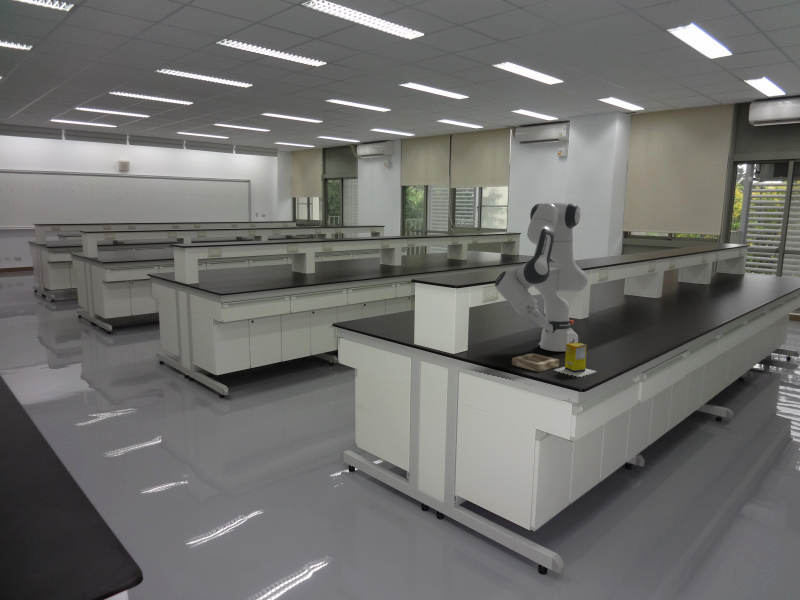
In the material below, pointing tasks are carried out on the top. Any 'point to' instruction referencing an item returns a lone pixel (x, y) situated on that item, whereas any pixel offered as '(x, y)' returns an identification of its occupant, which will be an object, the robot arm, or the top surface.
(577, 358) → the supplement box
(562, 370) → the grey pad
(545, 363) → the pocket holder
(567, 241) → the robot arm
